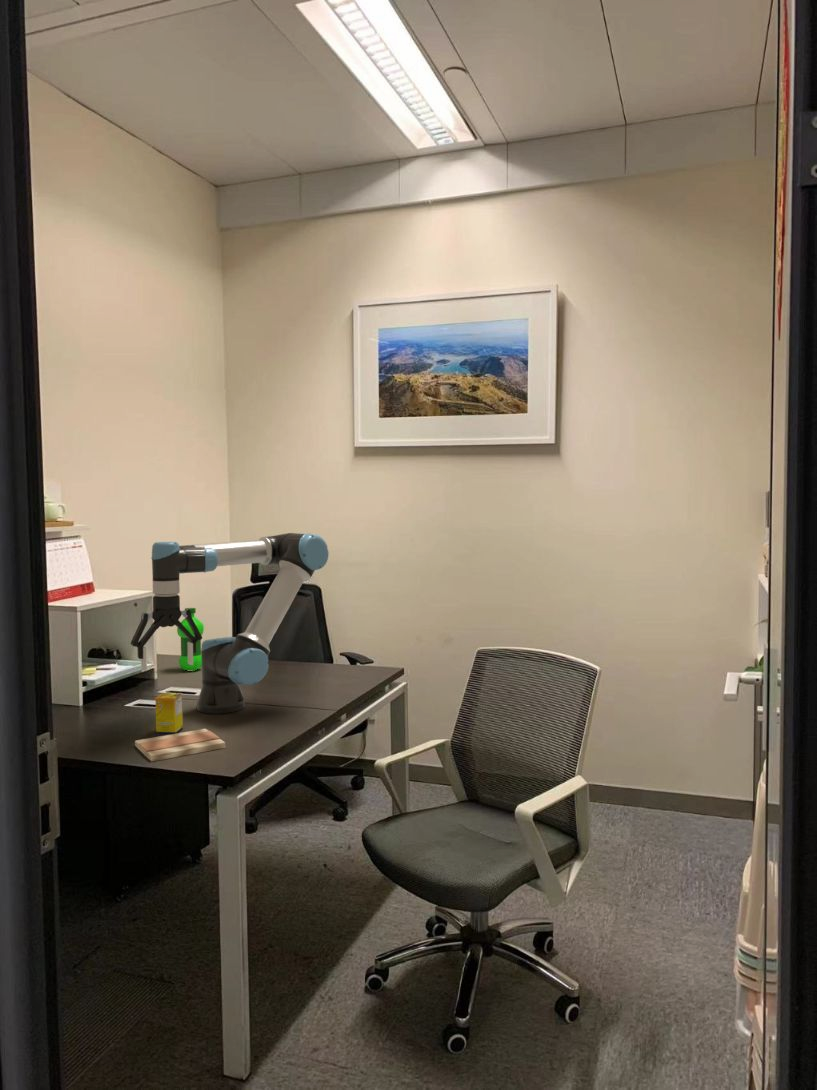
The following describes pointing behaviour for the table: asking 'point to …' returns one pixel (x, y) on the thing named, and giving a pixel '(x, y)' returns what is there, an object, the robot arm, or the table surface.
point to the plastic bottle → (184, 648)
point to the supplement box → (169, 713)
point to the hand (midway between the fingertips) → (167, 667)
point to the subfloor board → (179, 744)
